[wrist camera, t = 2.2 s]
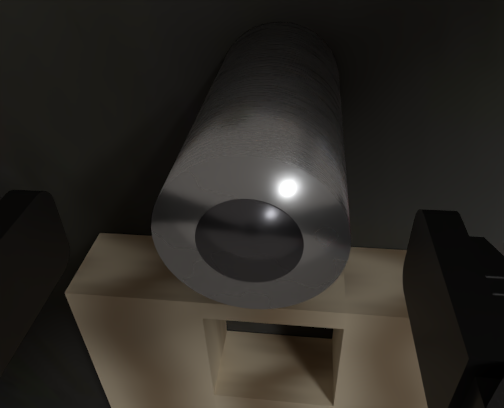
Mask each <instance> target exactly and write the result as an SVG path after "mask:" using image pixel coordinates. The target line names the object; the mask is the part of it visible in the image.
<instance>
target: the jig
mask: <svg viewBox="0 0 504 408" xmlns="http://www.w3.org/2000/svg"><path fill="white" fill-rule="evenodd" d="M406 252H407V250H396V249H378V248H360V247H351V249H350V254H349V258H348V261H347V263H346V266H345V268H344V269H343V271H342V273H341V274H340V276H339V277H338V278H337V279H336V280H335V282H334V283H333V284H332V285H331V286H329V287H328V288H327V289H326V290H325V291H323V292H322V293H320V294H319V295H317V296H315V297H313V298H311V299H309V300H307V301H304V302H302V303H299V304H296V305H292V306H288V307H283V308H276V309H248V308H240V307H235V306H230V305H227V304H223V303H220V302H217V301H215V300H212V299H209V298H207V297H205V296H203V295H201V294H199V293H197V292H196V291H194V290H192V289H191V288H189V287H188V286H186V285H185V284H184V283H183V282H181V281H180V280H179V279H178V278H177V277H176V276H175V275H174V274H173V273H172V272H171V271H170V270H169V269H168V268H167V266H166V265H165V264H164V262H163V261H162V259H161V258H160V256H159V254H158V252H157V250H156V248H155V245H154V241H153V238H152V236H146V235H128V234H110V233H99V235H98V237H97V239H96V240H95V242H94V244H93V245H92V247H91V249H90V250H89V252H88V254H87V255H86V257H85V259H84V261H83V262H82V264H81V266H80V267H79V269H78V271H77V272H76V274H75V276H74V278H73V279H72V281H71V283H70V284H69V286H68V288H67V289H66V291H65V296H66V298H67V300H68V303H69V305H70V308H71V310H72V313H73V315H74V318H75V320H76V322H77V325H78V327H79V330H80V332H81V335H82V337H83V340H84V342H85V345H86V347H87V349H88V352H89V354H90V357H91V359H92V362H93V364H94V367H95V369H96V372H97V374H98V376H99V379H100V381H101V384H102V386H103V389H104V391H105V394H106V396H107V398H108V401H109V403H110V406H111V408H428V406H427V401H426V397H425V392H424V387H423V382H422V378H421V373H420V368H419V363H418V359H417V354H416V349H415V344H414V339H413V335H412V330H411V325H410V320H409V316H408V311H407V306H406V301H405V297H404V291H403V265H404V260H405V256H406ZM226 320H231V321H244V322H257V323H270V324H283V325H296V326H309V327H322V328H333V336H332V339H326V338H313V337H300V336H288V335H275V334H263V333H250V332H237V331H227V326H226Z"/></svg>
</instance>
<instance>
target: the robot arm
mask: <svg viewBox="0 0 504 408" xmlns="http://www.w3.org/2000/svg"><path fill="white" fill-rule="evenodd" d="M69 253H70V250H69V243H68V240H67V237H66V234H65V231H64V228H63V225H62V222H61V219H60V216H59V213H58V210H57V208H56V205H55V202H54V199H53V197H52V195H51V194H50V193H48V192H46V191H27V190H11V191H9V192H8V193H7V194H6V195H5V196H4V197H3V198H2V199H1V200H0V377H1V375H2V373H3V372H4V370H5V368H6V367H7V365H8V364H9V362H10V360H11V359H12V357H13V355H14V354H15V352H16V350H17V349H18V347H19V345H20V344H21V342H22V340H23V339H24V337H25V335H26V334H27V332H28V330H29V329H30V327H31V326H32V324H33V322H34V321H35V319H36V317H37V316H38V314H39V312H40V311H41V309H42V307H43V306H44V304H45V302H46V301H47V299H48V297H49V296H50V294H51V292H52V291H53V289H54V288H55V286H56V284H57V283H58V281H59V279H60V278H61V276H62V274H63V273H64V271H65V269H66V267H67V264H68V261H69ZM403 291H404V297H405V301H406V306H407V311H408V316H409V320H410V325H411V330H412V335H413V339H414V344H415V349H416V354H417V359H418V363H419V368H420V373H421V378H422V382H423V387H424V392H425V397H426V401H427V406H428V408H504V256H503V255H502V254H501V253H500V252H499V251H498V250H497V249H496V248H495V247H494V246H493V245H492V244H490V243H489V242H488V241H487V240H486V239H485V238H484V237H469V235H468V233H467V230H466V228H465V225H464V223H463V221H462V218H461V216H460V214H459V213H458V212H457V211H441V210H418V211H417V213H416V216H415V219H414V223H413V227H412V231H411V236H410V240H409V244H408V248H407V252H406V256H405V260H404V265H403Z"/></svg>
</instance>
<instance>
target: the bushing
mask: <svg viewBox="0 0 504 408" xmlns="http://www.w3.org/2000/svg"><path fill="white" fill-rule="evenodd" d="M151 231H152V238H153V241H154V245H155V248H156V250H157V252H158V254H159V256H160V258H161V259H162V261H163V262H164V264H165V265H166V266H167V268H168V269H169V270H170V271H171V272H172V273H173V274H174V275H175V276H176V277H177V278H178V279H179V280H180V281H181V282H183V283H184V284H185V285H186V286H188V287H189V288H191V289H192V290H194V291H196V292H197V293H199V294H201V295H203V296H205V297H207V298H209V299H212V300H215V301H217V302H220V303H223V304H227V305H230V306H235V307H240V308H248V309H276V308H283V307H288V306H292V305H296V304H299V303H302V302H304V301H307V300H309V299H311V298H313V297H315V296H317V295H319V294H320V293H322V292H323V291H325V290H326V289H327V288H328V287H329V286H331V285H332V284H333V283H334V282H335V280H336V279H337V278H338V277H339V276H340V274H341V273H342V271H343V269H344V268H345V266H346V263H347V261H348V258H349V254H350V249H351V231H350V218H349V204H348V190H347V177H346V163H345V150H344V136H343V122H342V109H341V95H340V81H339V71H338V66H337V63H336V60H335V57H334V55H333V53H332V51H331V50H330V48H329V47H328V45H327V44H326V43H325V42H324V41H323V40H322V39H321V38H320V37H319V36H318V35H317V34H315V33H314V32H312V31H311V30H309V29H307V28H305V27H303V26H300V25H297V24H293V23H288V22H271V23H267V24H262V25H260V26H257V27H254V28H252V29H251V30H249V31H247V32H246V33H244V34H243V35H242V36H241V37H239V38H238V39H237V40H236V41H235V43H234V44H233V45H232V46H231V48H230V50H229V51H228V53H227V55H226V57H225V59H224V61H223V63H222V65H221V68H220V70H219V72H218V74H217V76H216V78H215V80H214V82H213V84H212V86H211V88H210V90H209V92H208V94H207V97H206V99H205V101H204V103H203V105H202V107H201V109H200V111H199V113H198V115H197V117H196V119H195V121H194V123H193V126H192V128H191V130H190V132H189V134H188V136H187V138H186V140H185V142H184V144H183V146H182V148H181V150H180V152H179V155H178V157H177V159H176V161H175V163H174V165H173V167H172V169H171V171H170V173H169V175H168V177H167V179H166V181H165V184H164V186H163V188H162V190H161V192H160V194H159V196H158V198H157V200H156V203H155V205H154V208H153V212H152V217H151Z"/></svg>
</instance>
